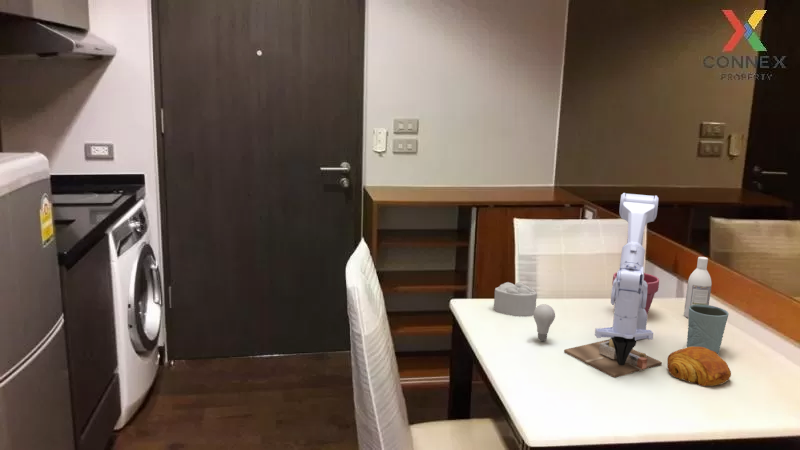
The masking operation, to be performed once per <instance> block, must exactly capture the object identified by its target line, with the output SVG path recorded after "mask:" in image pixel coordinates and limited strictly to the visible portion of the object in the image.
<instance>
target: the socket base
mask: <svg viewBox="0 0 800 450" xmlns="http://www.w3.org/2000/svg"><path fill="white" fill-rule="evenodd" d="M607 341H609V346H611V347H613V348H615V347H614V344H613V341H612V339H611V338H609V339H605V340H600V341H597V342H592V343H588V344H582V345H579V346H578V345H577V346H574V347H570V348H566V349H564V350H563V352H564V353H565V354H567V355H568V356H569V357H572V358H574V359H577V360H579V361H580V362H582V363H584V364H586V365H587V366H590V367H592V368H594V369H596V370H597V371H599V372H602V373H604V374H606V375H608V376H610V377H611V378H613V379H615V378H620V377H623V376H625V375H626V376H627V375H629V374H633V373H634V374H635V373H637V372H641V371H644V370H648V369H652V368H655V367H660V366H662V365H663V362H662V361H661V360H658V359H656V358H653V357H652V356H649V355H647V354H646V353H644V352H640V351H639V350H636V349H634V348H633V349H632V350H631V352H630V353H632V354H634V355H637V356H639V357H644V358H646V359H647V367H646V368H644V369H641V368H639V367H637V366H635V365H633V364H630V363H628V362H625V365H619V364H618V363H617V359H611V358H609V357H607V356H605V355H602V354H600V353H599V348H600V343H603V342H607ZM564 353H563V354H564Z"/></svg>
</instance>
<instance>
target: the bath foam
mask: <svg viewBox="0 0 800 450" xmlns="http://www.w3.org/2000/svg"><path fill="white" fill-rule="evenodd" d="M708 262H709V259H708V257H705V256H698V258H697V264H696V268H695V269H694V270H693V271H692V273H690V275H689V277H688V280H687V286H686V294H685V295H686V296H685V301H684V302H685V303H684V308H683V309H684V310H683V315H684V317H685V318H687V319H689V306H691V305H696V304H701V305H710V299H711V298H710V297H711V291H712V285H713V284H712V277H711V275H710V273H709V271H708V268H707V267H708Z"/></svg>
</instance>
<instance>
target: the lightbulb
mask: <svg viewBox="0 0 800 450" xmlns="http://www.w3.org/2000/svg"><path fill="white" fill-rule="evenodd" d="M532 317H533V319H534V322H535V324H536V331H537V339H538V340H539V341H540V342H544V341H546V340H547V339H548V334H549V330H550V327H551V325H552V324H553V323H554V321H555V319H556V312H555V310H554V308H553V306H550V305H549V304H547V303H546V304H545V303H544V304H543V303H542V304H539V305H536V308H535V310H534V313H533V316H532Z"/></svg>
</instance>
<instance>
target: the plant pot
mask: <svg viewBox="0 0 800 450" xmlns="http://www.w3.org/2000/svg"><path fill="white" fill-rule="evenodd" d="M615 278H617V272H614V273H613V277H612V284H611V285H612V286H613V281H614V280H615ZM644 281H646V282H647V285H648V286H647V300H646V308H644V309H645V311H646V313H647V315H648V313H649V312H650V309H651V305H652V303H653V300H654V297H655V294H656V293H657V292H659V287H660V278H658V277H657V276H655V275H653V274H649V273H646V272H644Z"/></svg>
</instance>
